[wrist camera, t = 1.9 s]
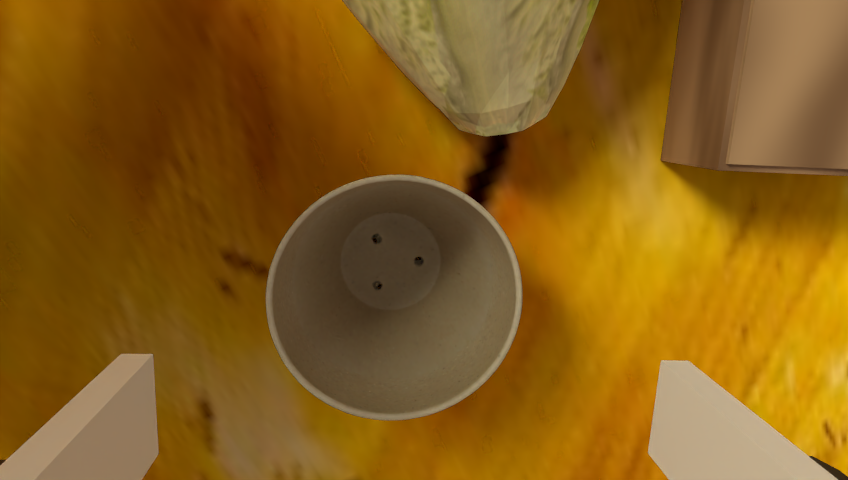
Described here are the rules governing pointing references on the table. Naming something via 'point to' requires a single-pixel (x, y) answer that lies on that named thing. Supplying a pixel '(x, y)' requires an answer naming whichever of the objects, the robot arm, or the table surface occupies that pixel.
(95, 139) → the table surface
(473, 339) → the flower pot
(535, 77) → the lettuce
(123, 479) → the robot arm
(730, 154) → the walnut block
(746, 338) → the table surface
